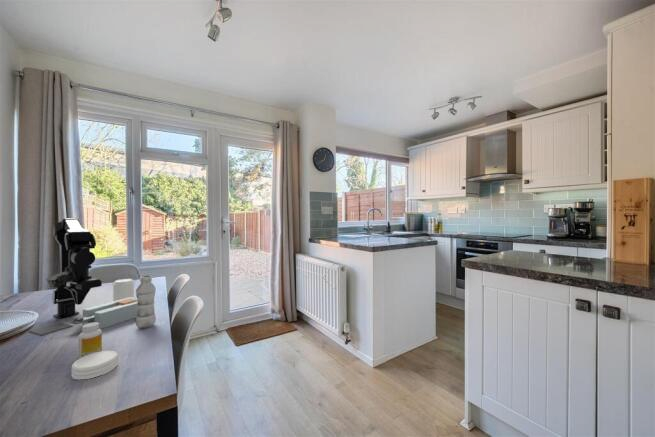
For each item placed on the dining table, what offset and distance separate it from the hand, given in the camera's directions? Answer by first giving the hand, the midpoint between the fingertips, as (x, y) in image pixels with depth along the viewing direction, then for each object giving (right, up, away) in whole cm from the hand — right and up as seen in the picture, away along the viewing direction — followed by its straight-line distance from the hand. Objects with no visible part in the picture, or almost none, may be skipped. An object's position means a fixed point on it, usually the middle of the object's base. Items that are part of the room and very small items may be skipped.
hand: (78, 304), depth 101 cm
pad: (-12, -10, +1) cm, 15 cm away
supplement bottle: (+21, -11, -18) cm, 29 cm away
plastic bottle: (+23, -10, +4) cm, 26 cm away
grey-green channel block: (+5, -10, +12) cm, 16 cm away
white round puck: (+29, -11, -26) cm, 40 cm away
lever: (+3, -7, +8) cm, 11 cm away
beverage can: (-6, -10, +30) cm, 32 cm away
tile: (+7, -6, +16) cm, 18 cm away
